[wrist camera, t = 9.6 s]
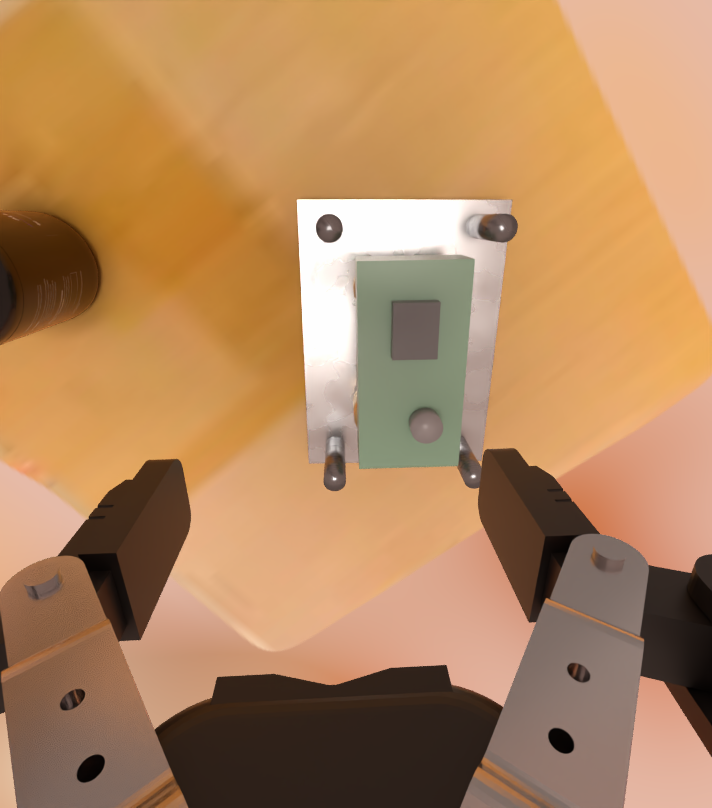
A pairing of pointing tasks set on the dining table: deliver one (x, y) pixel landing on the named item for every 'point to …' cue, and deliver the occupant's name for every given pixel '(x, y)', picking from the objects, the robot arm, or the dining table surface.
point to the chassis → (336, 308)
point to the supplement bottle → (41, 273)
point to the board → (411, 358)
